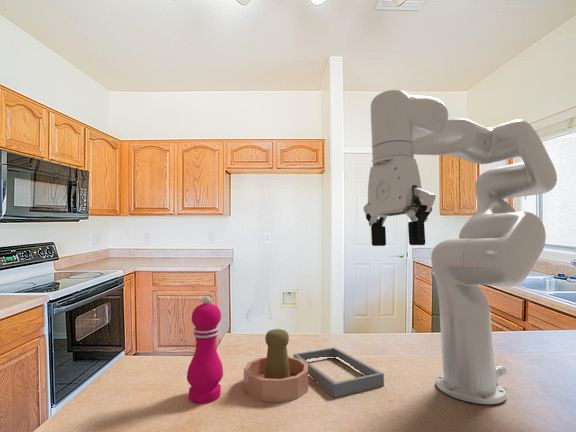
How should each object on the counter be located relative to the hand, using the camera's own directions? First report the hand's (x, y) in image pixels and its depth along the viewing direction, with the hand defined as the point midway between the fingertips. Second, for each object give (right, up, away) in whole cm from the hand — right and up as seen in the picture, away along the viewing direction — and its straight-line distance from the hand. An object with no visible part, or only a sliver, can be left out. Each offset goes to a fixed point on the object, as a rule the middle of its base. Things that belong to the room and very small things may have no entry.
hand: (396, 245), depth 56 cm
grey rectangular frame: (-9, -32, +15) cm, 37 cm away
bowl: (-23, -32, +9) cm, 40 cm away
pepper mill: (-37, -32, +5) cm, 49 cm away
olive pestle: (-23, -31, +9) cm, 40 cm away
